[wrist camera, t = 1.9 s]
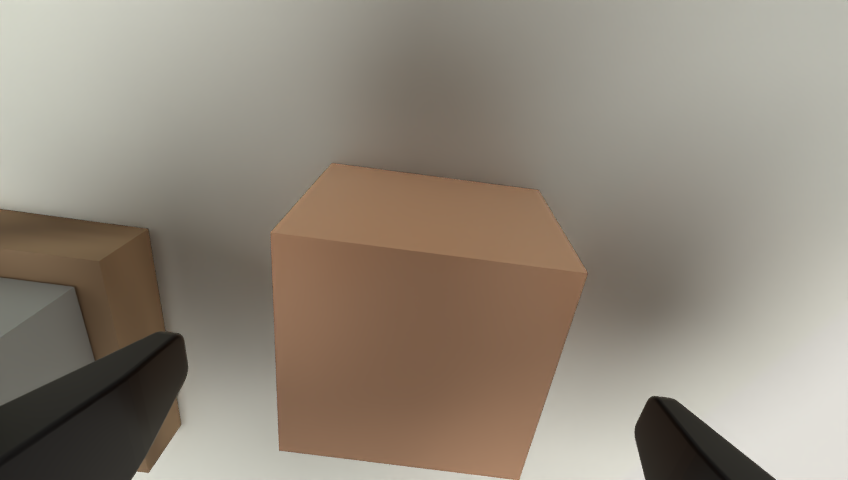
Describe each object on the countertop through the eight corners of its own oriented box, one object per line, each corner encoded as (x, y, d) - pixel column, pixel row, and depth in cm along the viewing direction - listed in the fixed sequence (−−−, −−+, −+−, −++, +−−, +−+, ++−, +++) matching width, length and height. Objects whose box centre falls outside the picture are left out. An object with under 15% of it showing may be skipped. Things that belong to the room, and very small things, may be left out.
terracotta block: (537, 188, 11) (588, 273, 7) (497, 349, 14) (519, 480, 10) (333, 161, 11) (271, 232, 7) (328, 328, 14) (279, 450, 10)
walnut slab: (159, 221, 13) (99, 261, 11) (189, 412, 16) (148, 473, 14) (-111, 185, 13) (-230, 218, 10) (-23, 385, 16) (-97, 442, 14)
